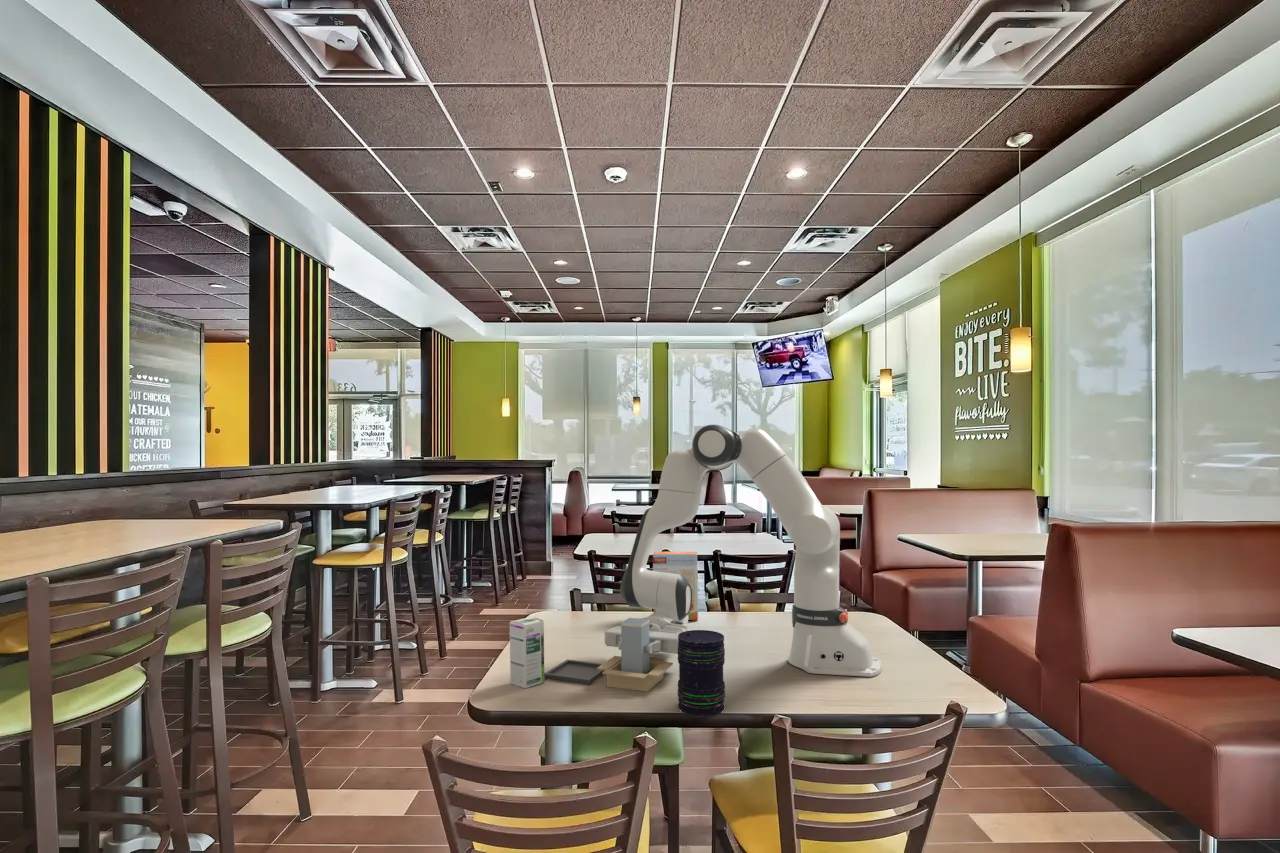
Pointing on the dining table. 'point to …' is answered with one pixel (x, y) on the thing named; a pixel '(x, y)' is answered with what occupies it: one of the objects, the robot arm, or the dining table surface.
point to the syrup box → (527, 652)
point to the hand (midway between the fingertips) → (634, 648)
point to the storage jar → (701, 673)
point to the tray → (575, 672)
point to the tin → (634, 645)
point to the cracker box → (680, 572)
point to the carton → (634, 674)
